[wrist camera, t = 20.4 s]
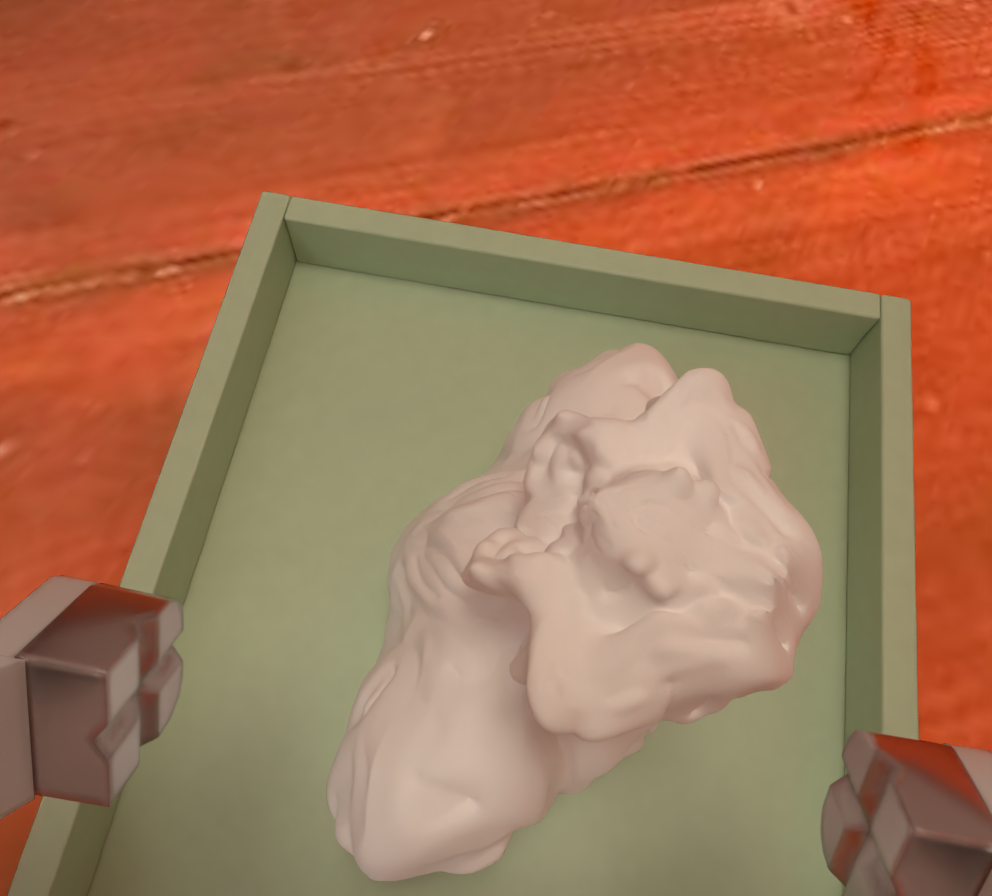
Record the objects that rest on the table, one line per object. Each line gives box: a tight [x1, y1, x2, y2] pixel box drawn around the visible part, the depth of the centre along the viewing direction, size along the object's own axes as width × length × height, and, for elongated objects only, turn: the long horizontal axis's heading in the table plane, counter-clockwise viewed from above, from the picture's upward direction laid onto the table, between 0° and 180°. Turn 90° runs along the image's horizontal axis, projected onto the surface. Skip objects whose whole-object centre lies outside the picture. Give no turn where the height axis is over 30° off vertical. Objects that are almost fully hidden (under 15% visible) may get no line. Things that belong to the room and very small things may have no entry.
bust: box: [326, 343, 823, 881], centre depth 16 cm, size 12×8×11 cm
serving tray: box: [7, 191, 919, 896], centre depth 19 cm, size 18×24×3 cm
